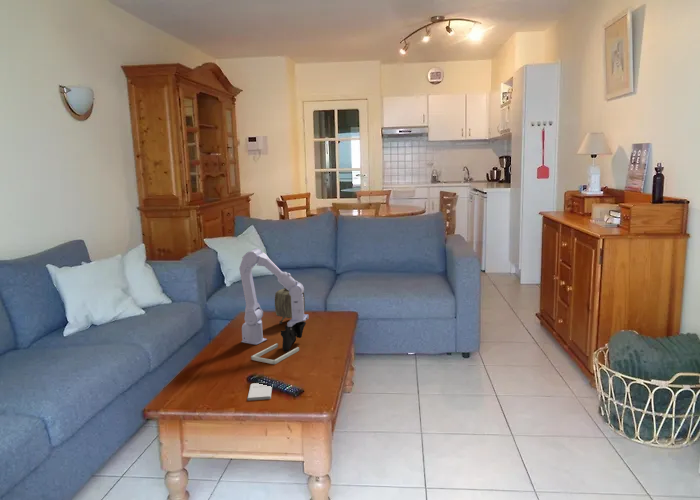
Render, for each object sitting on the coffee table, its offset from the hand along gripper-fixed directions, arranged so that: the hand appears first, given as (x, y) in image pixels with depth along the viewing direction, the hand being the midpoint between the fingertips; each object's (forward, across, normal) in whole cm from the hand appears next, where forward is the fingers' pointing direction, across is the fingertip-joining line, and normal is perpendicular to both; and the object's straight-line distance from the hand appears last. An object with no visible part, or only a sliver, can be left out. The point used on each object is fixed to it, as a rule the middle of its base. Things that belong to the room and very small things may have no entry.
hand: (299, 337), depth 243 cm
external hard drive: (+3, -51, -18) cm, 54 cm away
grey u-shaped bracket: (+2, -18, 0) cm, 18 cm away
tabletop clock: (+3, +24, +22) cm, 33 cm away
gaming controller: (+3, -8, 0) cm, 8 cm away
